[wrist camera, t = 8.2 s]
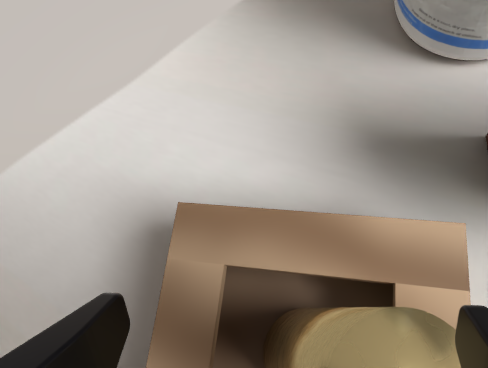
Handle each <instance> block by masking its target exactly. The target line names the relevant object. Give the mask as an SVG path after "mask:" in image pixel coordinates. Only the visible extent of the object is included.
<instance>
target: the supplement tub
mask: <svg viewBox="0 0 488 368" xmlns="http://www.w3.org/2000/svg"><path fill="white" fill-rule="evenodd" d="M394 5H395V11H396V15H397V18H398V20H399V22H400V24H401V26H402V28H403V29H404V31H405V32H406V33H407V35H408V36H409V37H410V38H411V39H412V40H413V41H414V42H416V43H417V44H418V45H420V46H422V47H423V48H425V49H426V50H429V51H431V52H433V53H435V54H438V55H441V56H444V57H448V58H453V59H459V60H484V59H488V0H394Z"/></svg>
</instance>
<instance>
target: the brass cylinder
mask: <svg viewBox="0 0 488 368" xmlns="http://www.w3.org/2000/svg"><path fill="white" fill-rule="evenodd" d="M455 333H456V330H455V329H454V328H453V327H452V326H450V325H449V324H448V323H446V322H445V321H444V320H442V319H440V318H438V317H437V316H435V315H433V314H430V313H428V312H425V311H423V310H419V309H415V308H409V307H333V308H297V309H294V310H291V311H288V312H286V313H285V314H283V315H282V316H280V317H279V318H278V319H277V320H276V321H275V322H274V323H273V325H272V326H271V328H270V329H269V331H268V333H267V336H266V339H265V343H264V350H263V359H264V366H265V368H461V365H460V362H459V358H458V354H457V351H456V346H455Z"/></svg>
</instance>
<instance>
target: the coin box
mask: <svg viewBox="0 0 488 368" xmlns="http://www.w3.org/2000/svg"><path fill="white" fill-rule="evenodd" d="M463 305H471V304H470V288H469V271H468V255H467V239H466V223H453V222H440V221H426V220H413V219H399V218H385V217H372V216H358V215H345V214H331V213H318V212H304V211H291V210H277V209H263V208H250V207H236V206H223V205H209V204H196V203H182V202H178V206H177V211H176V216H175V221H174V226H173V231H172V236H171V241H170V247H169V252H168V257H167V262H166V267H165V272H164V277H163V282H162V287H161V292H160V298H159V303H158V308H157V313H156V318H155V323H154V328H153V333H152V338H151V343H150V349H149V354H148V359H147V364H146V368H265V366H264V359H263V350H264V343H265V339H266V336H267V333H268V331H269V329H270V328H271V326H272V325H273V323H274V322H275V321H276V320H277V319H278V318H279V317H280V316H282V315H283V314H285V313H286V312H288V311H291V310H294V309H297V308H333V307H409V308H415V309H419V310H423V311H425V312H428V313H430V314H433V315H435V316H437V317H438V318H440V319H442V320H444V321H445V322H446V323H448V324H449V325H450V326H452V327H453V328H454V329H455V330H456V326H457V320H458V314H459V310H460V308H461V307H462V306H463Z"/></svg>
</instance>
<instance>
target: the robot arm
mask: <svg viewBox="0 0 488 368" xmlns="http://www.w3.org/2000/svg"><path fill="white" fill-rule="evenodd" d="M129 329H130V319H129V315H128V312H127V308H126V305H125V301H124V298H123V296H122V295H121V294H119V293H103V294H101V295H99V296H98V297H96V298H95V299H93V300H91V301H90V302H88V303H87V304H85V305H84V306H82V307H80V308H79V309H77V310H76V311H74V312H72V313H71V314H69V315H68V316H66V317H65V318H63V319H61V320H60V321H58V322H57V323H55V324H54V325H52V326H50V327H49V328H47V329H46V330H44V331H42V332H41V333H39V334H38V335H36V336H35V337H33V338H31V339H30V340H28V341H27V342H25V343H24V344H22V345H20V346H19V347H17V348H16V349H14V350H12V351H11V352H9V353H8V354H6V355H5V356H3V357H1V358H0V368H117V365H118V362H119V359H120V356H121V353H122V350H123V347H124V344H125V341H126V338H127V336H128V333H129ZM455 346H456V351H457V354H458V358H459V362H460V365H461V368H488V308H487V307H485V306H478V305H463V306H462V307H461V308H460V310H459V314H458V320H457V326H456V333H455Z"/></svg>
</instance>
